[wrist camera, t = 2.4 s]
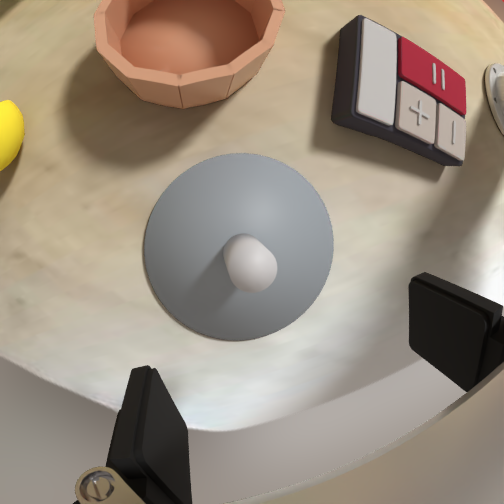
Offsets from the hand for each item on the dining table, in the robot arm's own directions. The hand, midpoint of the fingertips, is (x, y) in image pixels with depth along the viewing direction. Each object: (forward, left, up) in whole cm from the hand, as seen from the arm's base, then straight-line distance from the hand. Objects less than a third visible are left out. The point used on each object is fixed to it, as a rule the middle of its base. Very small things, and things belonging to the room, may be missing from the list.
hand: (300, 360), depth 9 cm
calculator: (-20, -11, -17) cm, 28 cm away
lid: (0, 0, -16) cm, 16 cm away
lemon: (+18, -16, -16) cm, 29 cm away
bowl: (0, -19, -16) cm, 25 cm away
